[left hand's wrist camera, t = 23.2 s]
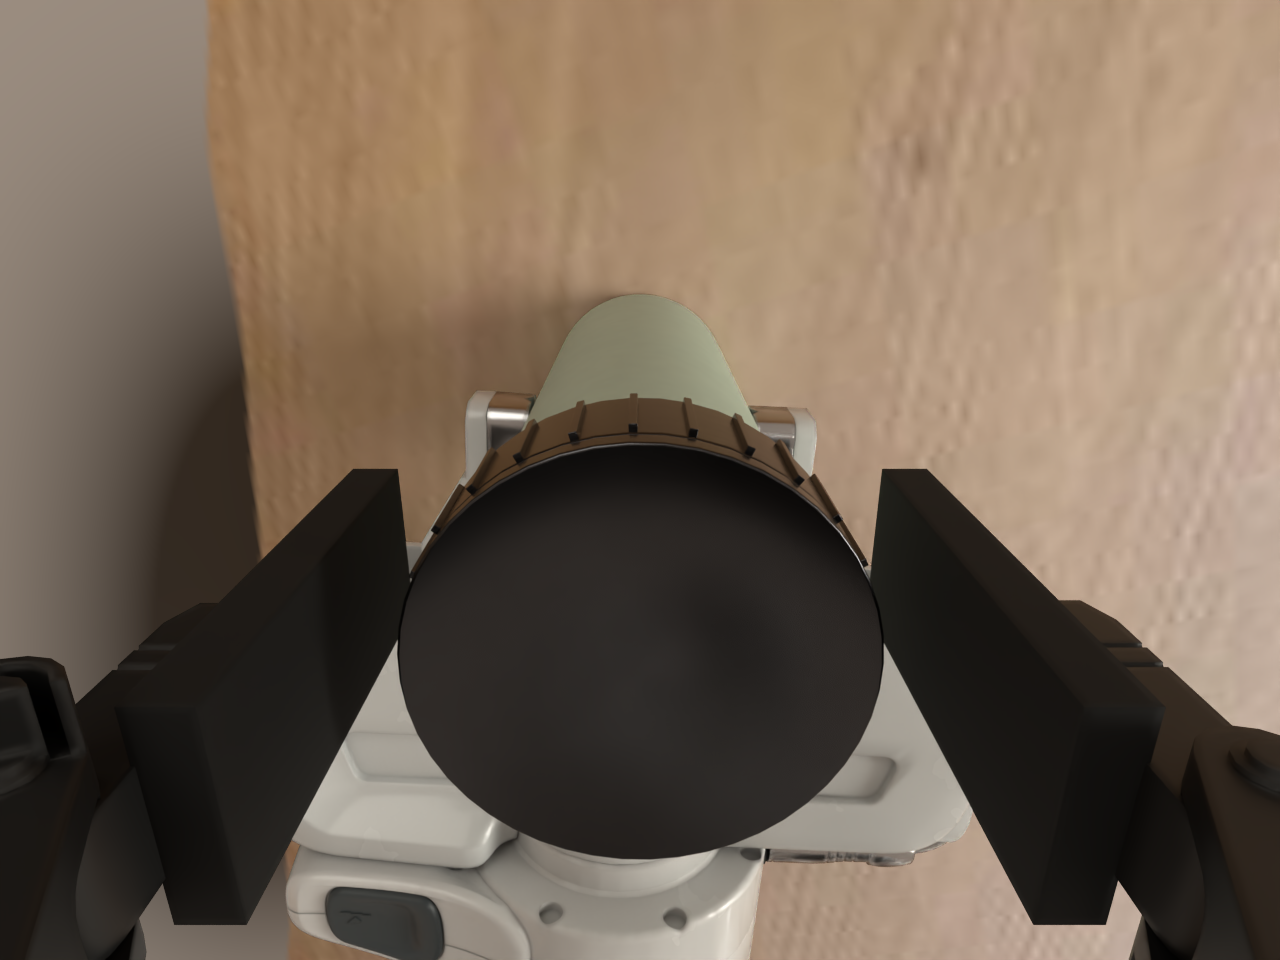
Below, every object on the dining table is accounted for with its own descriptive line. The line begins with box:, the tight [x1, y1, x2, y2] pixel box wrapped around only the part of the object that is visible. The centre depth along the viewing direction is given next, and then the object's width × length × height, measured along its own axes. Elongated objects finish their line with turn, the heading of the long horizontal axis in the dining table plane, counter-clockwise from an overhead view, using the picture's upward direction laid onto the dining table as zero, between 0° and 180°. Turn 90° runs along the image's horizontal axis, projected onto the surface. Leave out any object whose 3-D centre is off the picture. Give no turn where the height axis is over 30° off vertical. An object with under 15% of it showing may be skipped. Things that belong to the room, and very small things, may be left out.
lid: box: [397, 393, 884, 860], centre depth 11 cm, size 6×6×2 cm
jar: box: [522, 294, 760, 432], centre depth 18 cm, size 5×5×15 cm
